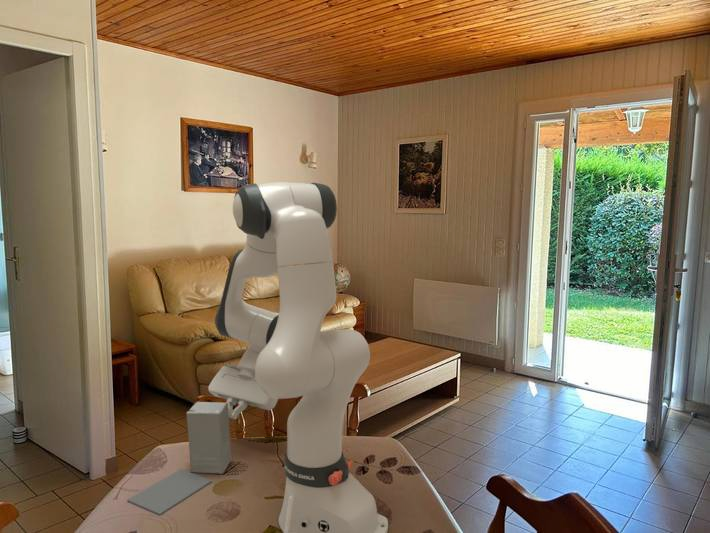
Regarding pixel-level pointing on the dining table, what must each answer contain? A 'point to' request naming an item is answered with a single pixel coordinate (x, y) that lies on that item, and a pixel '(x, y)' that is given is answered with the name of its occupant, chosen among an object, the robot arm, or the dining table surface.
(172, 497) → the mat
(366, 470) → the dining table surface
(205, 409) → the skincare box
